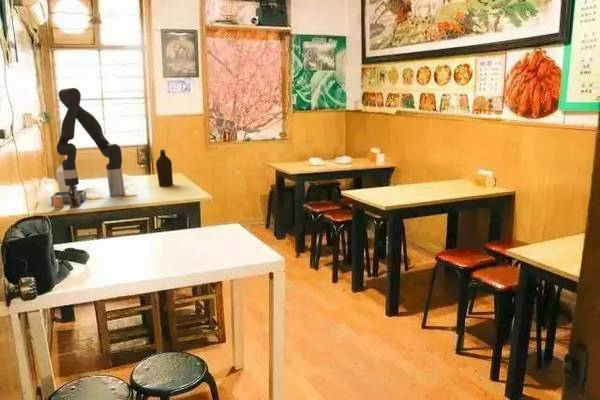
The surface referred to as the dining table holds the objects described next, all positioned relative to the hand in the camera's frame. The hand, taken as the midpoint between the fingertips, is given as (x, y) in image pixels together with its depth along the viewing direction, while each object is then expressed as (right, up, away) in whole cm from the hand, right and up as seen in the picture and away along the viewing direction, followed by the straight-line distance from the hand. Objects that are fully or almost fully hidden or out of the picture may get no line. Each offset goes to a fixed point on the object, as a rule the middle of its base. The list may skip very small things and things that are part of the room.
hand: (75, 204), depth 295 cm
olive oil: (+41, +13, +50) cm, 66 cm away
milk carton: (-23, +8, +40) cm, 47 cm away
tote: (-10, +2, +14) cm, 17 cm away
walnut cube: (0, -1, 0) cm, 1 cm away
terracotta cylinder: (-9, -2, -2) cm, 9 cm away
